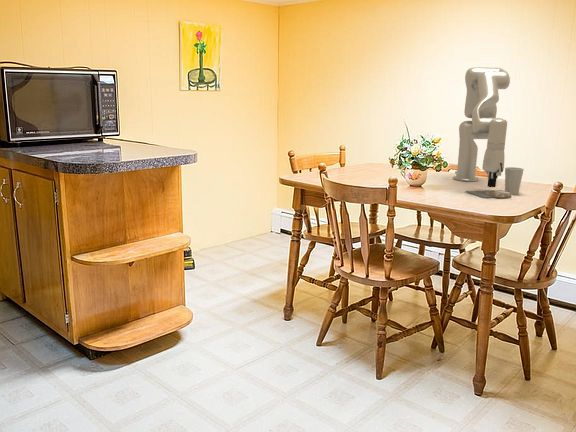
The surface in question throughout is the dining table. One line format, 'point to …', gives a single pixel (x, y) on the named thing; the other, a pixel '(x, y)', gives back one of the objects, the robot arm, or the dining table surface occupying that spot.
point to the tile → (498, 193)
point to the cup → (513, 179)
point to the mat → (483, 194)
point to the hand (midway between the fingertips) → (491, 186)
